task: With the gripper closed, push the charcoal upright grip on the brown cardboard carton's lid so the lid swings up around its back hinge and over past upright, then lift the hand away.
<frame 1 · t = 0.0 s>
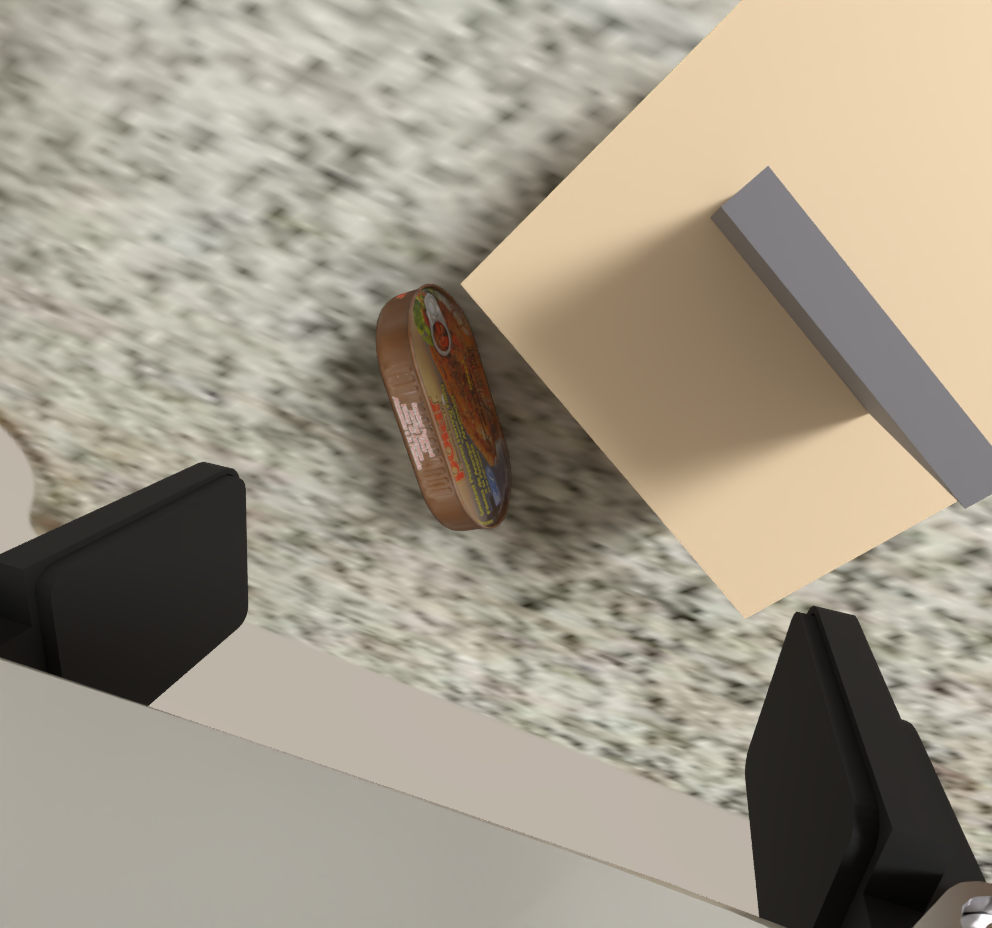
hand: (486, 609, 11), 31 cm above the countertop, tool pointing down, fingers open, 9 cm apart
lid: (845, 307, 19), point 19 cm above the countertop, hinge at 0.0°
tin: (470, 397, 44), on the countertop
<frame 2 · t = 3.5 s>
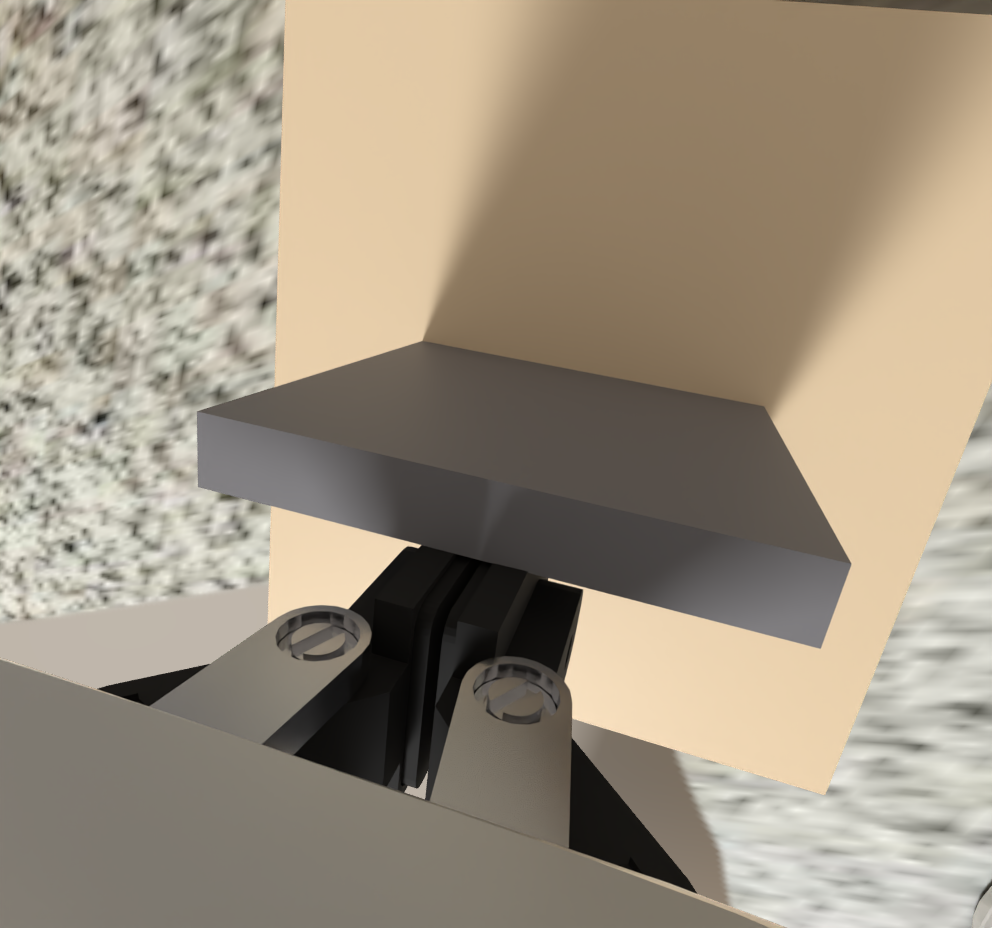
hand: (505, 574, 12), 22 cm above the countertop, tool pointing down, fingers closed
lid: (545, 456, 13), point 19 cm above the countertop, hinge at 2.0°, touching gripper
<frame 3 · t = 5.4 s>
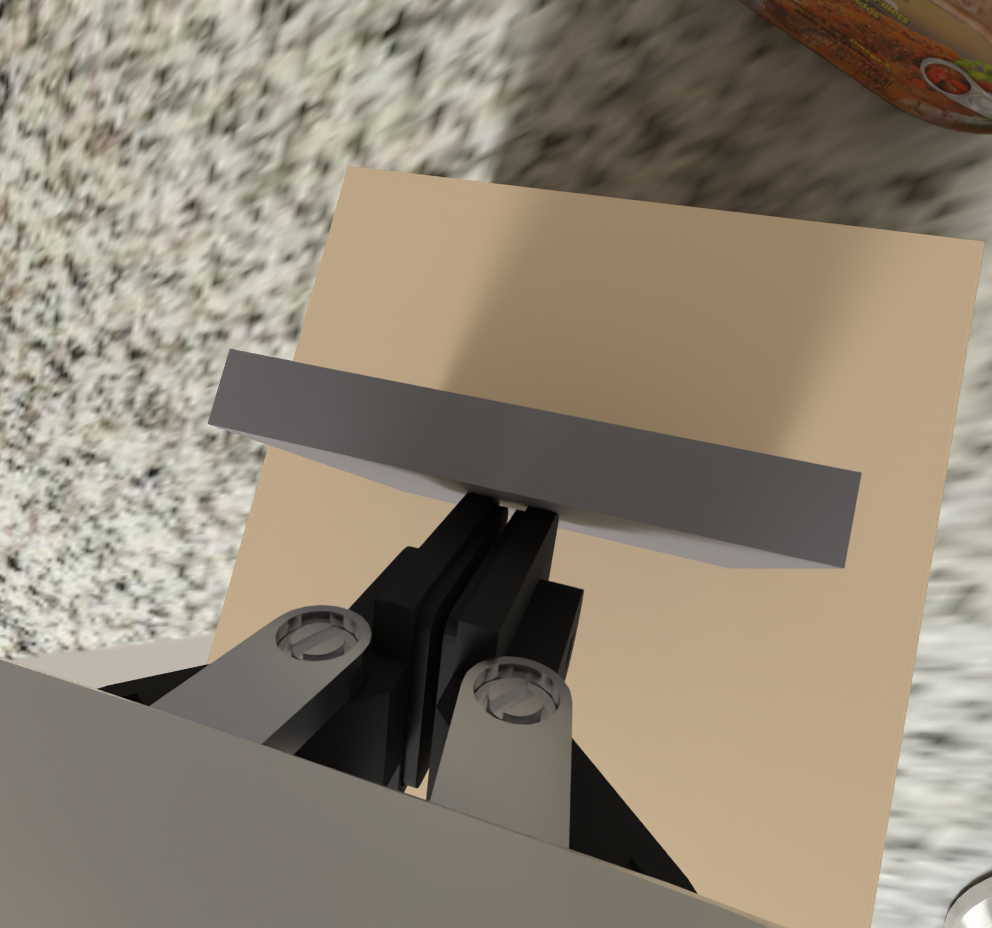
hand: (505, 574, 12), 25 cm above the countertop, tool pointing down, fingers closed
lid: (537, 511, 14), point 23 cm above the countertop, hinge at 27.5°, touching gripper
tin: (843, 19, 28), on the countertop
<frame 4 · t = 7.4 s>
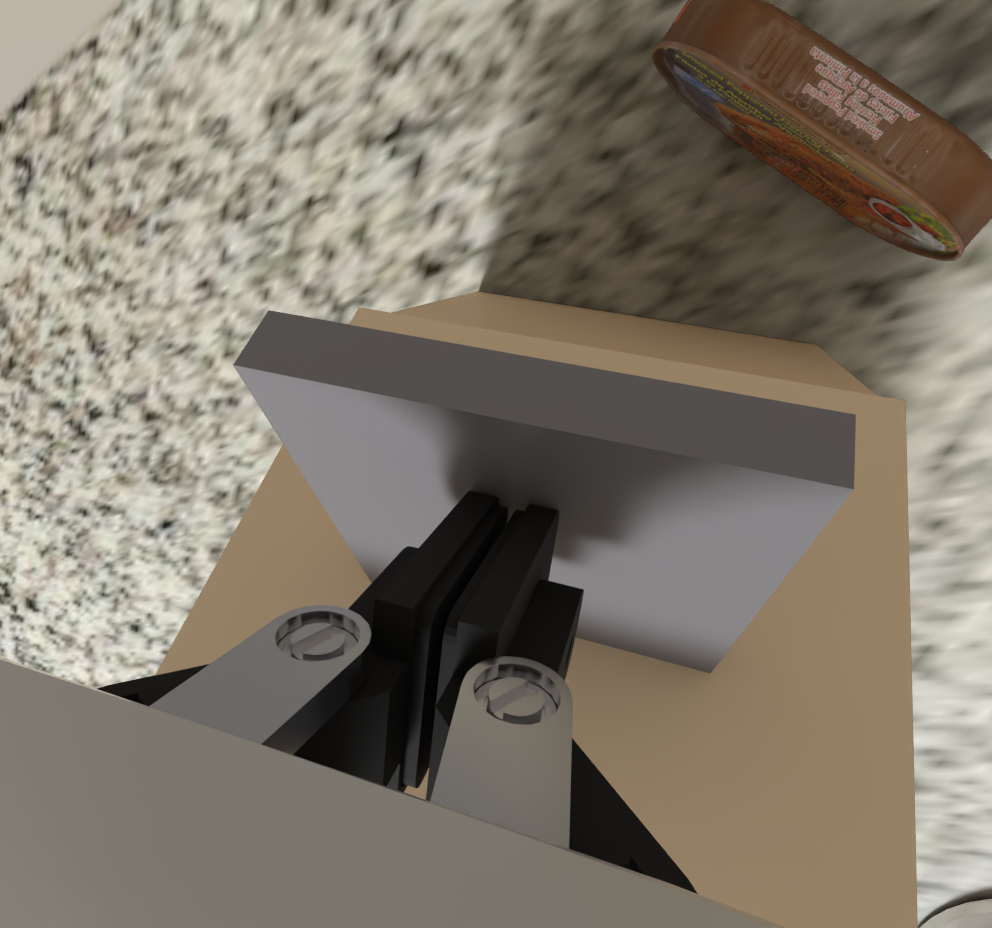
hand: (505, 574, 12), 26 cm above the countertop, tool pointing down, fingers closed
carton: (607, 471, 38), on the countertop
lid: (525, 554, 13), point 25 cm above the countertop, hinge at 51.4°, touching gripper
tin: (804, 143, 31), on the countertop
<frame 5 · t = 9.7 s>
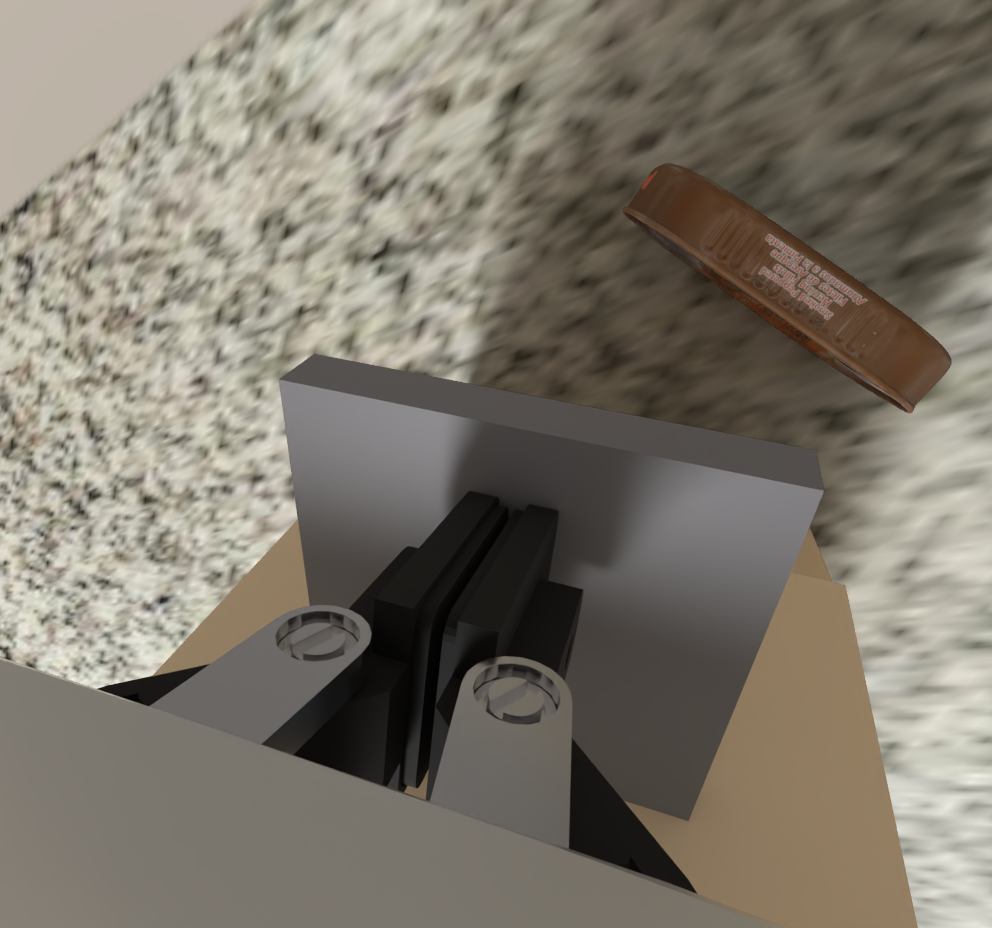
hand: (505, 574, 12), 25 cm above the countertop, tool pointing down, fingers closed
carton: (586, 570, 40), on the countertop
lid: (507, 632, 13), point 25 cm above the countertop, hinge at 77.3°, touching gripper
tin: (770, 280, 32), on the countertop
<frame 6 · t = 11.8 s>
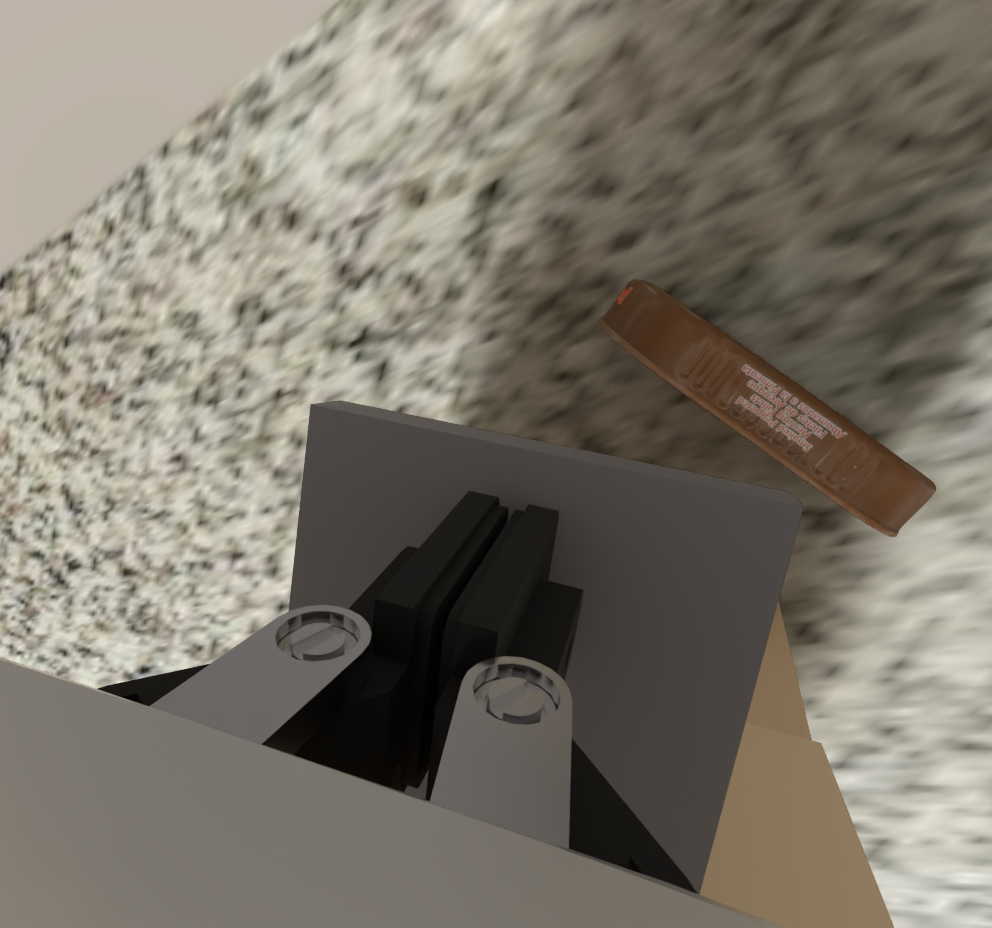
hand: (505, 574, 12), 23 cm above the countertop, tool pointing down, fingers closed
carton: (570, 658, 39), on the countertop
lid: (494, 690, 13), point 23 cm above the countertop, hinge at 99.2°, touching gripper
tin: (752, 380, 31), on the countertop
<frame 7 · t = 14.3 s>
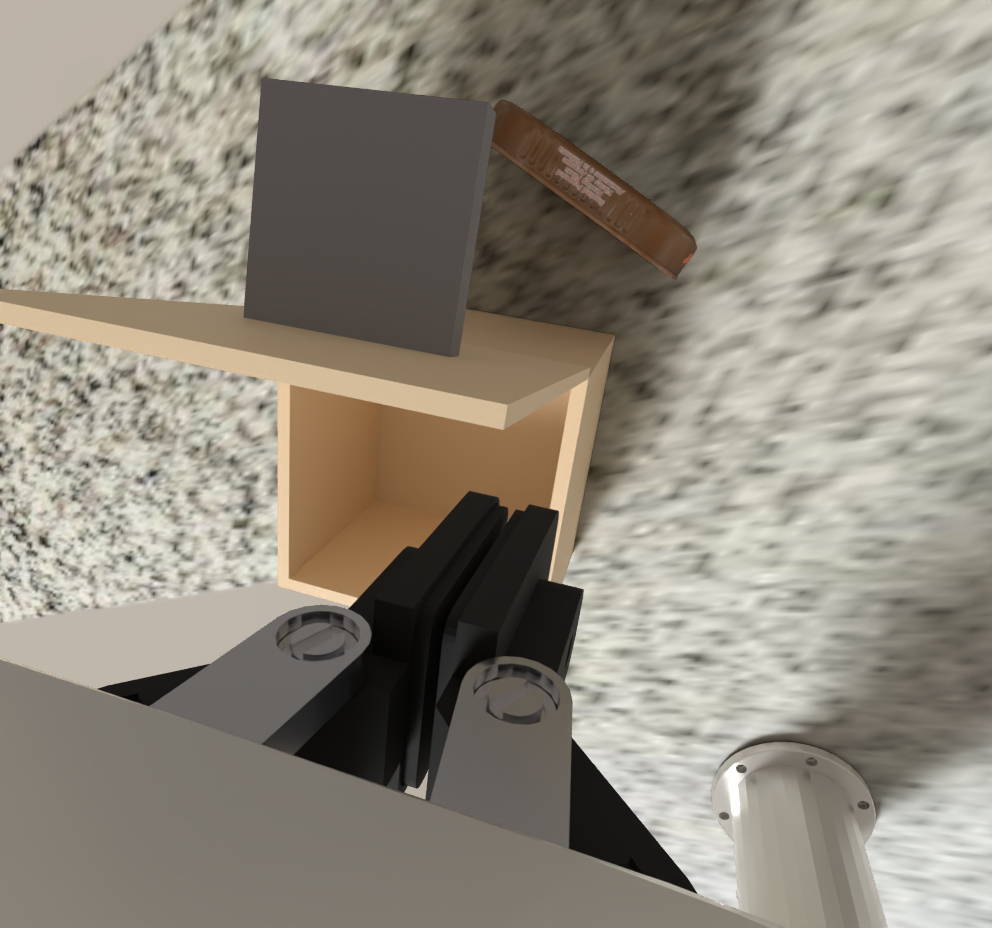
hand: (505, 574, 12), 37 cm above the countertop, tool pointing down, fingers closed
carton: (479, 428, 51), on the countertop
lid: (356, 226, 25), point 23 cm above the countertop, hinge at 99.2°
tin: (597, 193, 44), on the countertop
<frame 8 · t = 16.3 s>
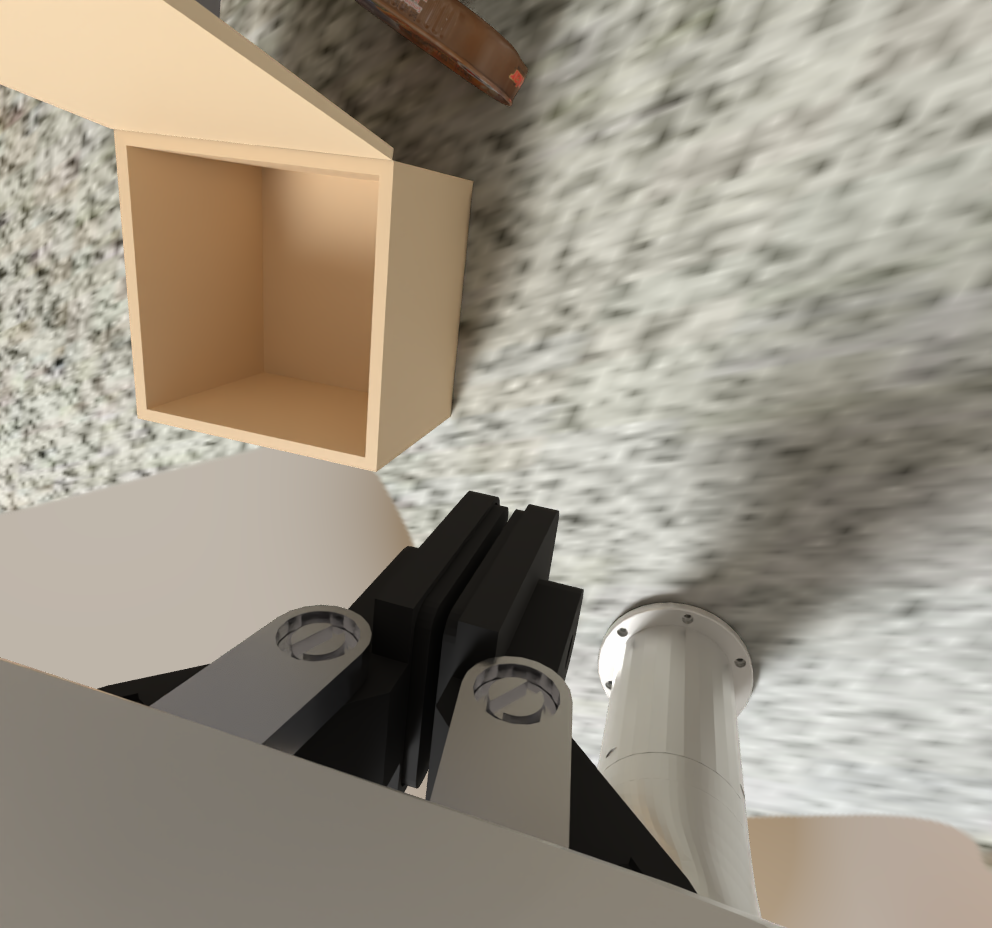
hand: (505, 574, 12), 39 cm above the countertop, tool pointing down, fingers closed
carton: (355, 289, 53), on the countertop
tin: (447, 36, 45), on the countertop
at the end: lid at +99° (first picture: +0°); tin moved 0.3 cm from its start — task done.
